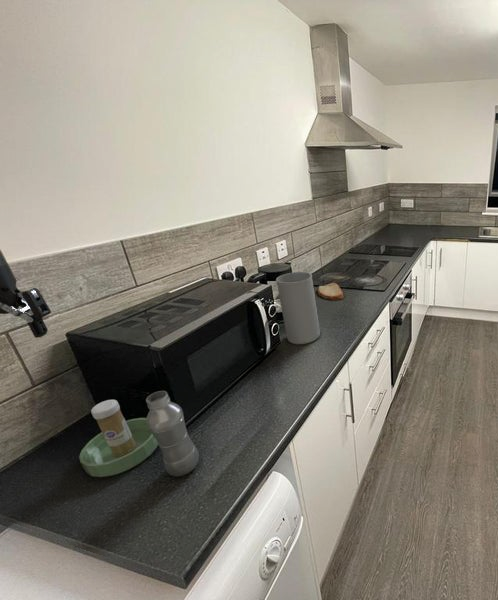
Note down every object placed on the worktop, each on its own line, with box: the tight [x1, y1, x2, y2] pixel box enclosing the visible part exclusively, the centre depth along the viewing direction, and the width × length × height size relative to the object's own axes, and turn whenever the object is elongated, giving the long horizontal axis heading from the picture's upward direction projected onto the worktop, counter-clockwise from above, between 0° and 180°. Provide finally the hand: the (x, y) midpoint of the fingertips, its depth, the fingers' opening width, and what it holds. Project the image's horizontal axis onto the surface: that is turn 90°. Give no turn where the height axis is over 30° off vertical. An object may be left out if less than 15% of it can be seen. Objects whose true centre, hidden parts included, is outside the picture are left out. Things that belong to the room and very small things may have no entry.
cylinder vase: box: [275, 271, 321, 345], centre depth 122 cm, size 12×12×25 cm
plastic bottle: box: [145, 390, 200, 477], centre depth 69 cm, size 6×7×20 cm
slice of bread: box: [317, 282, 345, 301], centre depth 170 cm, size 18×18×4 cm
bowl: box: [78, 417, 159, 478], centre depth 76 cm, size 14×14×4 cm
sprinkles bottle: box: [90, 399, 136, 457], centre depth 74 cm, size 5×5×13 cm
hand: (18, 338), depth 68 cm, fingers open, 8 cm apart
